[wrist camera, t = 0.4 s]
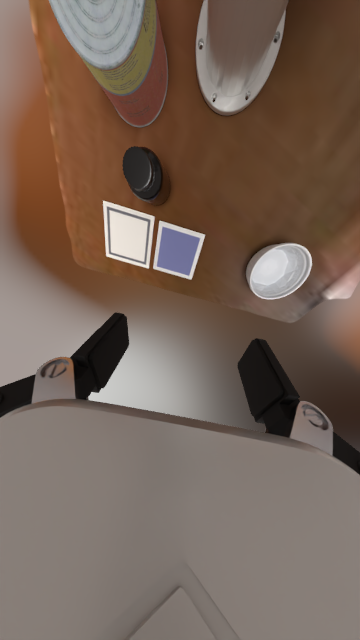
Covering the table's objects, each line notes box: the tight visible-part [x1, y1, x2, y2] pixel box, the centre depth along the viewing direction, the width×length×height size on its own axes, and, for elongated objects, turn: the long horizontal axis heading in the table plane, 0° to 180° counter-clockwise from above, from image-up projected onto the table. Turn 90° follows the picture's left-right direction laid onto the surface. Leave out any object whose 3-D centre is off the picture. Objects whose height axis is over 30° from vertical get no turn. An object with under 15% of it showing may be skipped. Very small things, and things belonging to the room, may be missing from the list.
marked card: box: [103, 201, 155, 268], centre depth 37 cm, size 13×13×1 cm
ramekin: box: [246, 243, 312, 299], centre depth 35 cm, size 13×13×7 cm
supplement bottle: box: [123, 146, 170, 205], centre depth 26 cm, size 7×7×12 cm
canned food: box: [49, 0, 168, 127], centre depth 18 cm, size 11×11×12 cm
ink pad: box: [153, 221, 205, 280], centre depth 38 cm, size 12×12×1 cm
